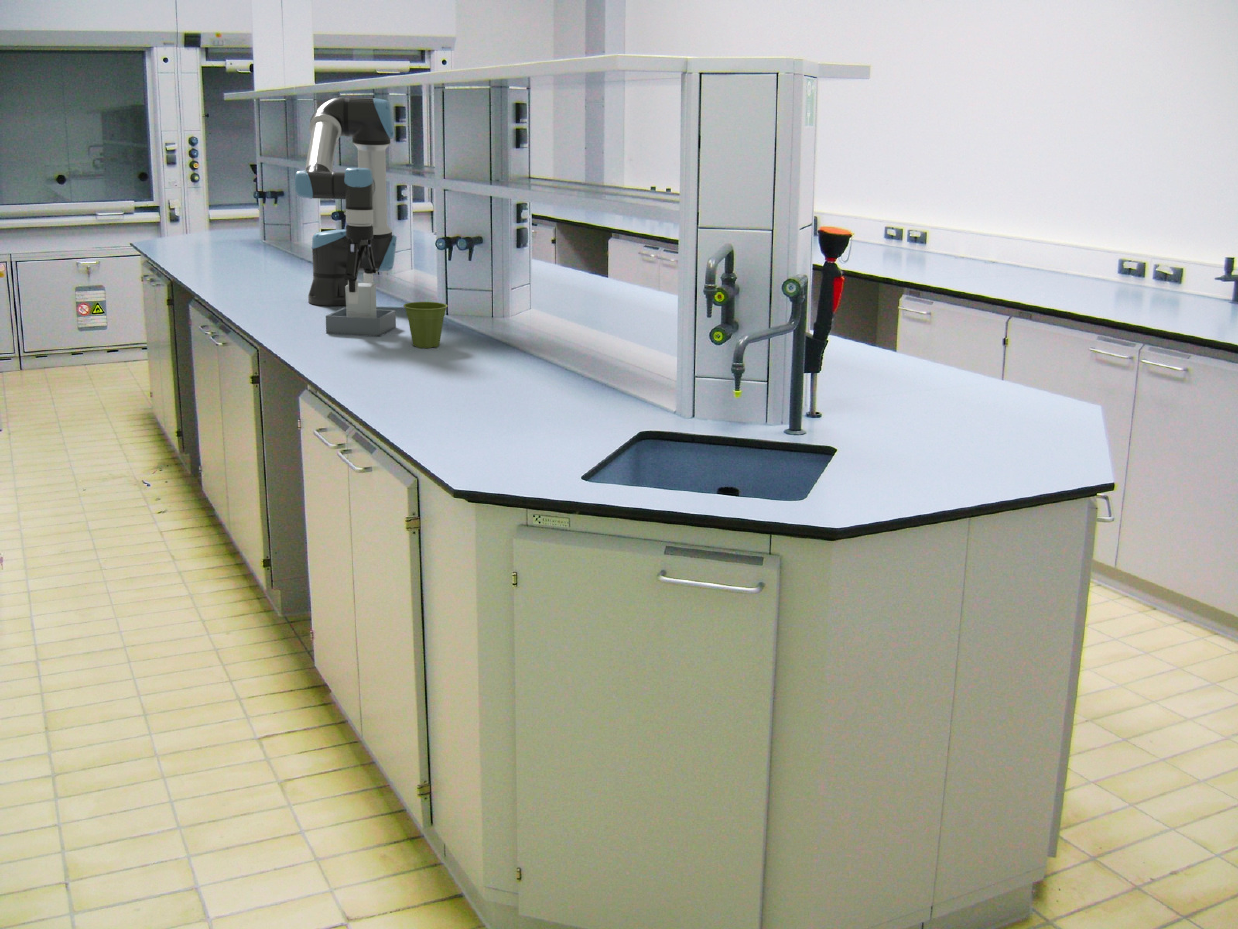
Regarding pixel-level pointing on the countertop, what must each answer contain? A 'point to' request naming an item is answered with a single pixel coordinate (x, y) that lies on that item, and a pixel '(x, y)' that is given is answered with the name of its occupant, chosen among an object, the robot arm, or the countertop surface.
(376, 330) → the grey bin
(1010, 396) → the countertop surface
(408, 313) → the plant pot
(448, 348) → the countertop surface
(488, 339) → the countertop surface
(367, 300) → the supplement box
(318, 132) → the robot arm
